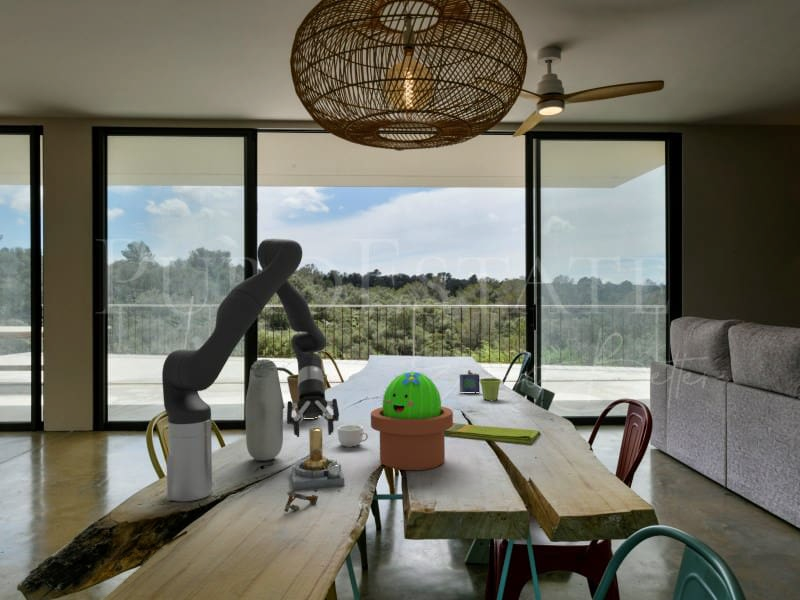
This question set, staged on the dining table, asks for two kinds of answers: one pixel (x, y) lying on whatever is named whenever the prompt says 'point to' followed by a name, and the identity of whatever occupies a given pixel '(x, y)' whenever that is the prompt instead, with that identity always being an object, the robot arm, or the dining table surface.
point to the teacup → (351, 435)
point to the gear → (316, 452)
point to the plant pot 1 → (294, 389)
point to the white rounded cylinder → (264, 411)
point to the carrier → (317, 476)
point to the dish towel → (492, 433)
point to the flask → (469, 382)
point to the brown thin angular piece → (292, 494)
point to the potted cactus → (412, 423)
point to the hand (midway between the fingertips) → (314, 434)
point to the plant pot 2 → (490, 388)
